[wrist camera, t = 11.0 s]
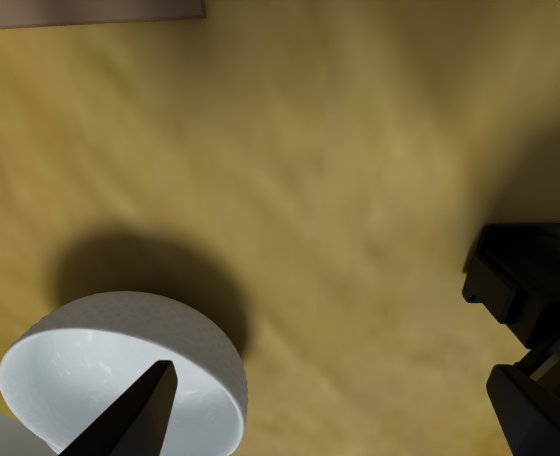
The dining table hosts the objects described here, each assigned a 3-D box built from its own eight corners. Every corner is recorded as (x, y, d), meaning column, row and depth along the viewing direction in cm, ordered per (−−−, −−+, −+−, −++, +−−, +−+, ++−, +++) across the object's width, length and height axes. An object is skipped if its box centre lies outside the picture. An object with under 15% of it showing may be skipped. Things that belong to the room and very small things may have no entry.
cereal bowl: (40, 339, 28) (-36, 416, 21) (120, 218, 21) (47, 277, 15) (192, 417, 32) (167, 500, 26) (295, 336, 26) (295, 419, 19)
